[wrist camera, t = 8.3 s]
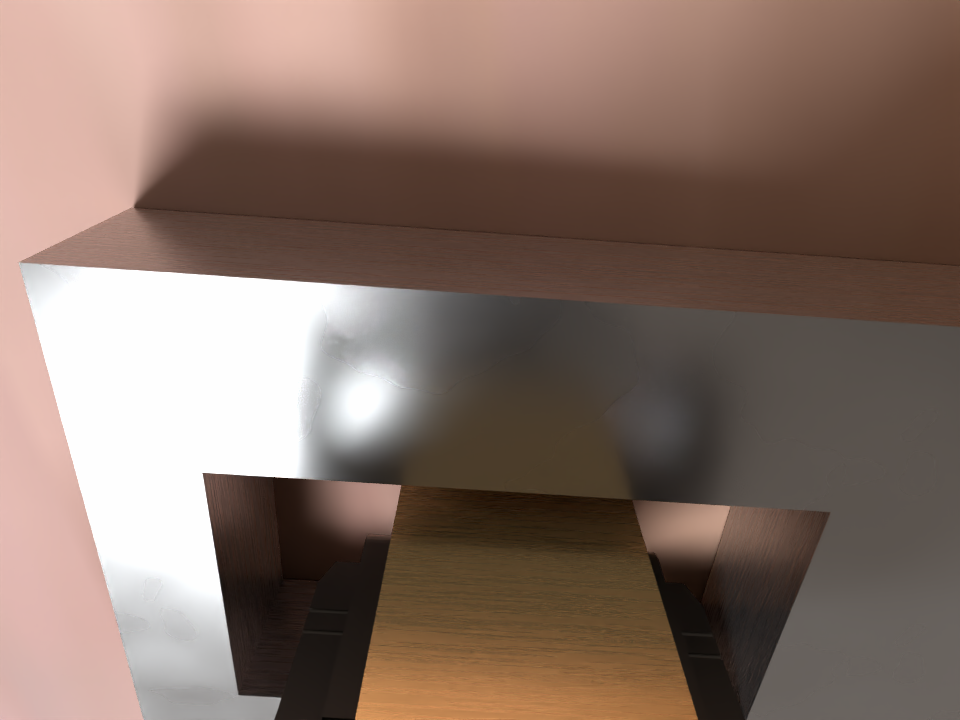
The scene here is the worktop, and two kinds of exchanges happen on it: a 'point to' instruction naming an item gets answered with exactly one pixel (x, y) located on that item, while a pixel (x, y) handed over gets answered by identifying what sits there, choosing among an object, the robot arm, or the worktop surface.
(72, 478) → the worktop surface
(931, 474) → the silver slotted board
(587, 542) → the block
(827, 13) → the worktop surface
